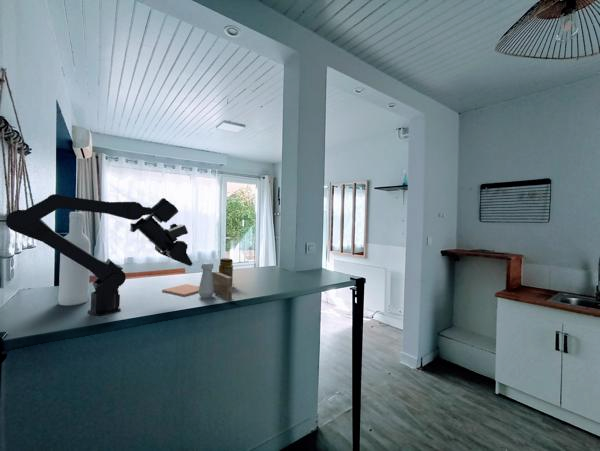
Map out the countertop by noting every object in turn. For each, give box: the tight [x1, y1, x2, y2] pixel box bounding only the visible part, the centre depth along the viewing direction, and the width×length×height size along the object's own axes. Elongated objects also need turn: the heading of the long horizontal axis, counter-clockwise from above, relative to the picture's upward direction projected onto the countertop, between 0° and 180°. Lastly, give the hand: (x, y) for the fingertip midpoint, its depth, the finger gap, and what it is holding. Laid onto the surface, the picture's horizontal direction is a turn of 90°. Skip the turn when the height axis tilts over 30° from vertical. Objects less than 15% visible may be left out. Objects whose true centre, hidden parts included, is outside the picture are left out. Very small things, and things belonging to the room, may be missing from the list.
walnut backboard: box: [212, 271, 234, 300], centre depth 111 cm, size 2×14×8 cm, turn 41°
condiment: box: [218, 257, 234, 289], centre depth 126 cm, size 7×8×12 cm
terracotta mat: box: [161, 283, 200, 297], centre depth 115 cm, size 12×12×1 cm
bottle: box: [57, 211, 91, 307], centre depth 94 cm, size 8×8×30 cm
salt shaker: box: [197, 262, 215, 299], centre depth 107 cm, size 6×6×13 cm
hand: (186, 263), depth 102 cm, fingers open, 9 cm apart
